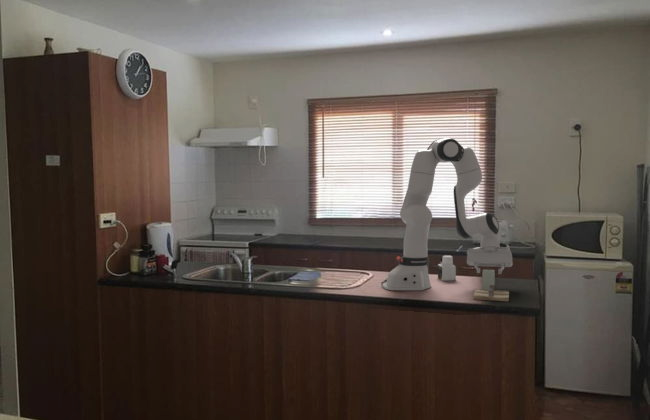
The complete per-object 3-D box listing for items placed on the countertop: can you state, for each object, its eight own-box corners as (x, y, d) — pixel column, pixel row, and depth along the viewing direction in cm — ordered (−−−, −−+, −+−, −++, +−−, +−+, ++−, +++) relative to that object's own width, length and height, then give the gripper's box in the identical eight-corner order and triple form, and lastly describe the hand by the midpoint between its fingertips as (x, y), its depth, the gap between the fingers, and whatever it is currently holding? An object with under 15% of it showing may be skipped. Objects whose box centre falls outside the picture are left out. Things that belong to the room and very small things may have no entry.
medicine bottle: (437, 278, 282) (437, 254, 281) (451, 277, 282) (451, 254, 281) (441, 280, 274) (441, 256, 274) (455, 280, 275) (456, 256, 274)
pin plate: (475, 292, 247) (475, 283, 247) (509, 294, 243) (509, 285, 242) (473, 299, 234) (473, 289, 234) (508, 301, 229) (508, 291, 229)
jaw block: (482, 288, 255) (483, 269, 254) (494, 289, 253) (494, 269, 253) (482, 291, 250) (482, 271, 249) (494, 291, 248) (494, 271, 248)
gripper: (466, 243, 263) (465, 267, 255) (512, 244, 257) (512, 269, 248) (467, 251, 268) (465, 275, 259) (512, 253, 261) (512, 277, 253)
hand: (489, 272), depth 254 cm, fingers open, 8 cm apart
